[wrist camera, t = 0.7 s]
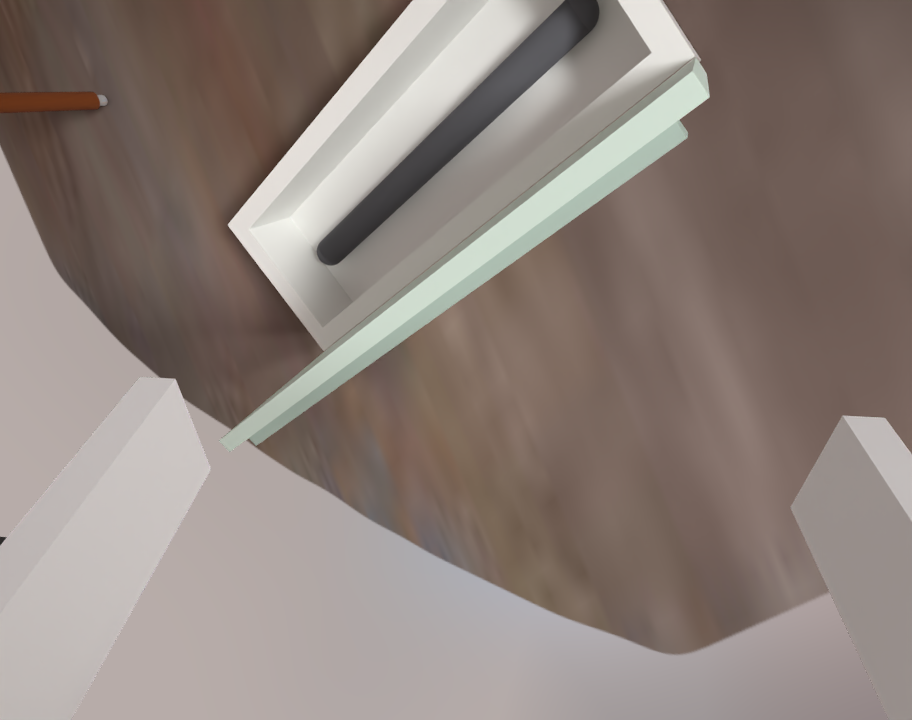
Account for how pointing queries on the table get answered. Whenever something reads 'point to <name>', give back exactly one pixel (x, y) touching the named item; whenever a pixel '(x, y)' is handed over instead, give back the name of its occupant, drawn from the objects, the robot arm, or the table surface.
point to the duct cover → (493, 246)
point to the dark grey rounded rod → (464, 124)
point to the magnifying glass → (50, 101)
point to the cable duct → (414, 117)
